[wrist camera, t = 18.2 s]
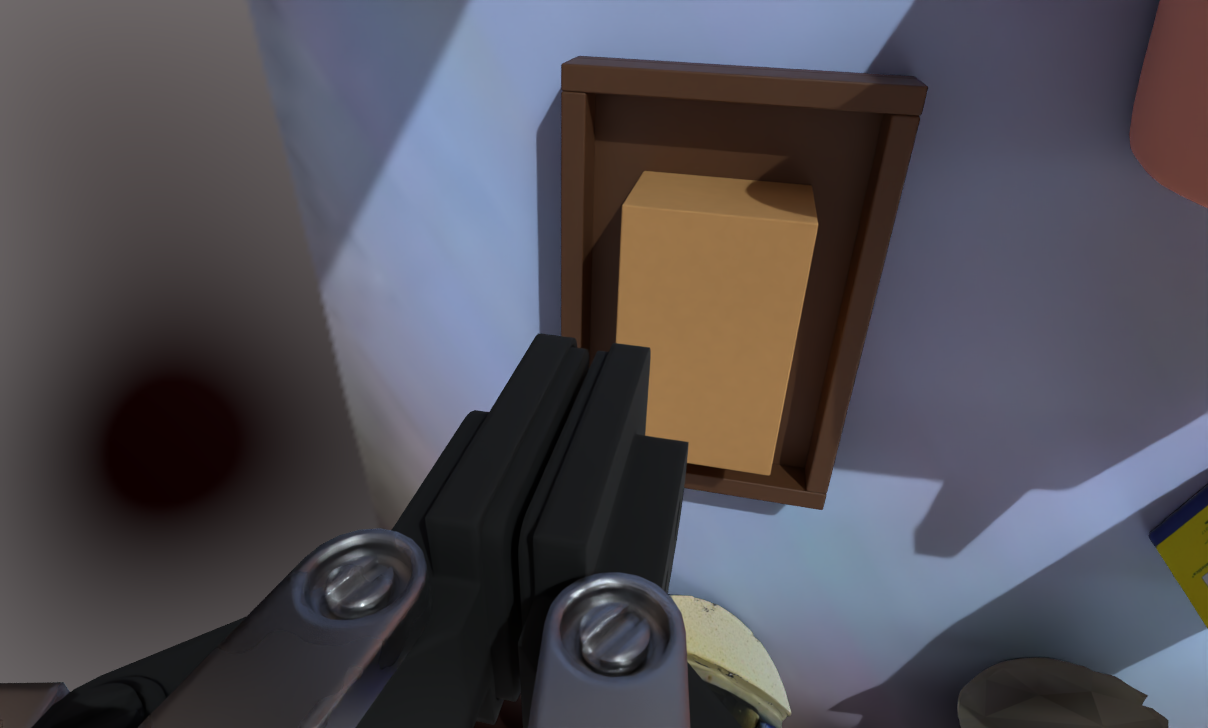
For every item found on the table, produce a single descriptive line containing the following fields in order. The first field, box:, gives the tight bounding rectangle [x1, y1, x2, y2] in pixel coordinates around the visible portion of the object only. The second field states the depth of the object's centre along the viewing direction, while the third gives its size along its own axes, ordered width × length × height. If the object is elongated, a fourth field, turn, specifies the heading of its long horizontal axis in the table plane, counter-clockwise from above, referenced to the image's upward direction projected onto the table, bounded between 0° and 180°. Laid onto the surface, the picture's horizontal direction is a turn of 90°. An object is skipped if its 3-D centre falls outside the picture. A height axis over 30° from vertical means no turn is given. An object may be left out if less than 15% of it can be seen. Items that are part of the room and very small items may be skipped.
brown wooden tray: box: [561, 56, 928, 510], centre depth 25 cm, size 16×11×2 cm
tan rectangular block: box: [616, 171, 818, 475], centre depth 24 cm, size 9×6×4 cm, turn 177°
